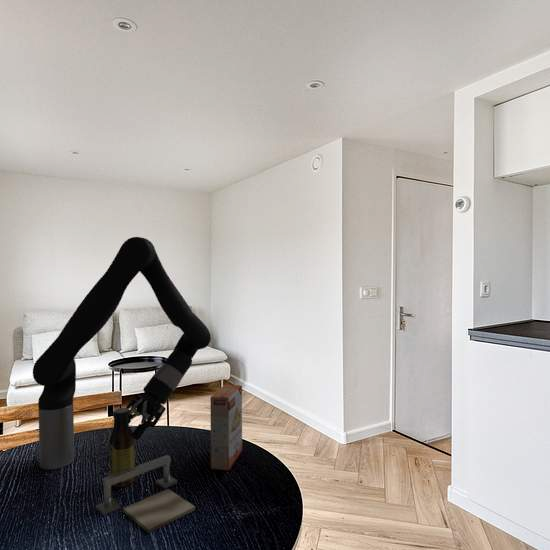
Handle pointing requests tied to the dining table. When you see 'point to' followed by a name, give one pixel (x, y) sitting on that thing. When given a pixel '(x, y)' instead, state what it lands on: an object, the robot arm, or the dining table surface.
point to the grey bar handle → (165, 482)
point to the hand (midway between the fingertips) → (126, 434)
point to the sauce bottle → (121, 446)
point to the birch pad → (158, 510)
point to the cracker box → (226, 426)
